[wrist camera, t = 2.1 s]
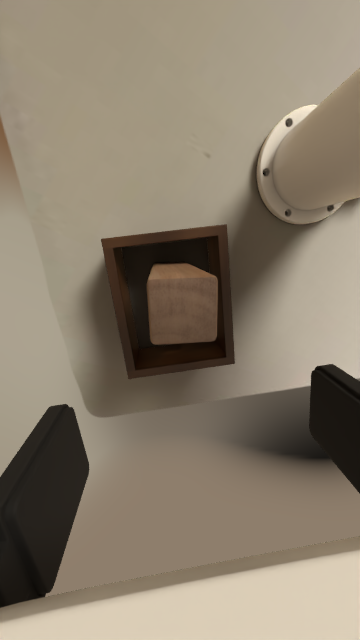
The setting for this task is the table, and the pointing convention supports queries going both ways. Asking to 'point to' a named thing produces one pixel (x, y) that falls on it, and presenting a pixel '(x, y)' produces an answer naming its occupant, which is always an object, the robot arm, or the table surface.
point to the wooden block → (181, 304)
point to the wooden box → (182, 353)
